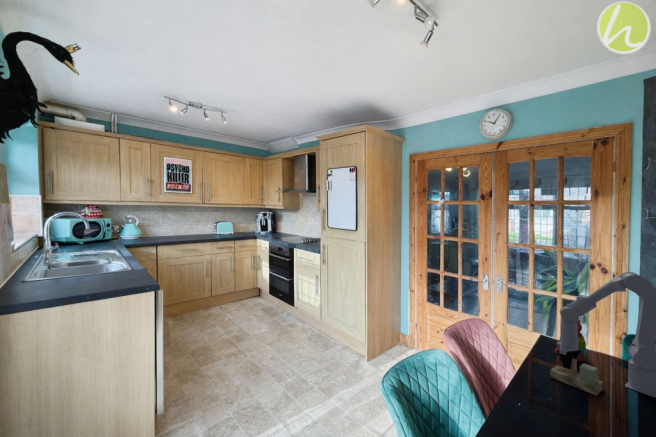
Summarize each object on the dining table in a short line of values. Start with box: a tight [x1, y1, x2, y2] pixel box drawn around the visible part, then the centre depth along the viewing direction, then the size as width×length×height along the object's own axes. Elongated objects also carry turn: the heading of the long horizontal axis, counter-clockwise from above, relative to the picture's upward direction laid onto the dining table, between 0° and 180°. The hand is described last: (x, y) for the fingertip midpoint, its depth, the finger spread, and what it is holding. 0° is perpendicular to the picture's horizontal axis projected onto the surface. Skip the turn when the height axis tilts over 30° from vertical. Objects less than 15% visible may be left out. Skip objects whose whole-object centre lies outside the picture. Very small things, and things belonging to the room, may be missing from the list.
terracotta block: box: [560, 359, 578, 372], centre depth 118 cm, size 4×4×5 cm
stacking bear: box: [553, 319, 587, 362], centre depth 131 cm, size 11×10×18 cm
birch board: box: [549, 365, 604, 396], centre depth 109 cm, size 14×7×3 cm, turn 32°
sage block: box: [579, 363, 598, 384], centre depth 106 cm, size 4×4×5 cm
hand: (568, 366), depth 118 cm, fingers open, 5 cm apart
